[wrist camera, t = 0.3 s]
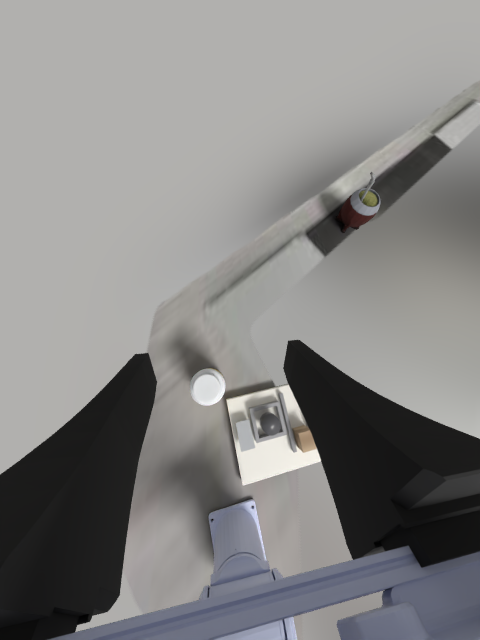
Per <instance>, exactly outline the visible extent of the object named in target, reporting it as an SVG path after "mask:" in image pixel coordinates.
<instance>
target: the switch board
mask: <svg viewBox="0 0 480 640" xmlns="http://www.w3.org/2000/svg"><path fill="white" fill-rule="evenodd" d="M226 400H227V405H228V411H229V416H230V421H231V427H232V432H233V437H234V442H235V448H236V453H237V458H238V464H239V469H240V474H241V479H242V484H243V485H247V484H250V483H253V482H256V481H259V480H263V479H266V478H269V477H272V476H275V475H279V474H282V473H285V472H288V471H291V470H295V469H298V468H301V467H304V466H308V465H311V464H314V463H317V462H320V461H321V459H320V456H319V453H318V450H317V449H315V450H311V451H308V452H305V453H303V452H302V451H301V450H300V449H299V448H298V447H297V445H296V441H295V437H294V433H293V429H292V428H296V427H299V426H303V425H305V426H307V427H308V425H307V422H306V420H305V418H304V416H303V414H302V412H301V410H300V408H299V406H298V404H297V402H296V399H295V397H294V395H293V393H292V391H291V389H290V387H289V384H285V385H281V386H277V387H273V388H269V389H265V390H261V391H257V392H252V393H248V394H244V395H240V396H236V397H232V398H228V399H226ZM266 412H271V413H273V414H274V415H275V416H277V417H278V419H279V420H280V423H281V428H280V431H279V432H278V433H277V434H276V435H273V436H270V435H267V434H266V433H265V432H264V431H263V429H262V428H261V426H260V418H261V416H262V415H263V414H264V413H266ZM247 419H249V422H250V426H251V430H252V435H253V439H254V444H255V448H254V449H250V450H247V451H243V452H241V448H240V443H239V438H238V433H237V428H236V423H235V422H239V421H243V420H247ZM308 428H309V427H308Z"/></svg>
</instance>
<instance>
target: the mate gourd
mask: <svg viewBox="0 0 480 640" xmlns="http://www.w3.org/2000/svg"><path fill="white" fill-rule="evenodd" d="M370 174H371V177H372V179H371V180H370V182H369V185H368V187H367V188H363V189H360V190H357V191H356V192H354V193H353V194H352V195H351V196H350V197H349V198H348V199H347V200H346V202H345V203H344V205H343V206H342V208H341V210H340V212H339V215H338V216H336V218H335V219H336V220H338V221H340V222H342V223H344V227H343V229H342V233H345V231H346V229H347V228H348V227H352V228H354V229H356V230H357V229H359V226H361V225H363V224H365V223H366V222H368V221H369V220H370V219H371V218H373V217H374V215H375V214H376V212H377V211H378V209H379V206H380V197H379V195H378V194H377V193H376V192H375V191H374V190H372V189H370V187H371V186H372V185H373V183H374V182H375V175H374V174H373V173H372V172H371V173H370Z"/></svg>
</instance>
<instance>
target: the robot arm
mask: <svg viewBox="0 0 480 640" xmlns="http://www.w3.org/2000/svg"><path fill="white" fill-rule="evenodd" d="M283 369H284V372H285V375H286V378H287V381H288V384H289V387H290V389H291V391H292V393H293V395H294V397H295V399H296V402H297V404H298V406H299V408H300V410H301V412H302V414H303V416H304V418H305V420H306V422H307V425H308V427H309V429H310V432H311V434H312V437H313V439H314V442H315V445H316V448H317V450H318V453H319V456H320V459H321V462H322V465H323V468H324V470H325V473H326V476H327V479H328V483H329V486H330V489H331V492H332V495H333V498H334V502H335V505H336V508H337V511H338V515H339V519H340V522H341V526H342V529H343V533H344V536H345V539H346V544H347V546H348V549H349V551H350V554H351V556H352V558H353V560H351V561H348V562H343V563H339V564H336V565H332V566H328V567H324V568H320V569H316V570H313V571H309V572H305V573H301V574H297V575H293V576H289V577H286V578H283V576H282V574H281V573H280V572H279V571H278V570H277V568H274V569H272V572H271V571H270V567H269V563H268V561H266V556H265V551H264V546H263V541H262V536H261V531H260V526H259V521H258V516H257V511H256V506H255V501H254V500H253V499H251V500H248V501H244V502H241V503H238V504H235V505H232V506H229V507H226V508H223V509H220V510H217V511H214V512H211V513H210V514H209V524H210V530H211V537H212V543H213V550H214V573H213V574H212V575H211V587H210V588H209V585H207V586H204V588H203V591H202V593H201V595H200V597H199V600H197V601H193V602H190V603H186V604H182V605H178V606H174V607H170V608H167V609H163V610H159V611H155V612H151V613H147V614H144V615H140V616H136V617H132V618H128V619H124V620H121V621H117V622H113V623H110V624H105V625H101V626H98V627H94V628H90V629H86V630H82V631H78V632H75V631H76V627H77V625H79V624H83V623H87V622H90V620H91V618H92V616H93V615H97V614H101V613H105V612H108V611H109V610H110V608H111V607H112V606H113V604H114V603H115V602H116V600H117V598H118V597H119V595H120V587H121V578H122V569H123V561H124V552H125V544H126V537H127V530H128V523H129V516H130V509H131V502H132V496H133V490H134V484H135V478H136V472H137V467H138V461H139V457H140V452H141V448H142V444H143V441H144V437H145V433H146V430H147V426H148V423H149V419H150V415H151V411H152V408H153V404H154V399H155V392H156V385H157V381H156V377H155V374H154V371H153V367H152V364H151V361H150V357H149V354H148V353H144V354H135V355H134V356H133V357H132V358H131V359H130V360H129V361H128V363H127V364H126V365H125V366H124V367H123V368H122V369H121V370H120V371H119V372H118V373H117V375H116V376H115V377H114V378H113V379H112V380H111V381H110V382H109V383H108V384H107V385H106V386H105V387H104V388H103V389H102V391H100V392H99V393H98V394H97V395H96V396H95V398H93V399H92V400H91V401H90V402H89V403H88V404H87V405H86V406H85V407H84V408H83V409H82V410H81V411H80V412H79V413H77V414H76V415H75V416H74V417H73V418H72V419H71V420H70V421H68V422H67V423H66V424H65V425H64V426H63V427H62V428H60V429H59V430H58V431H57V432H55V433H54V434H53V435H52V436H51V437H49V438H48V439H47V440H46V441H44V442H43V443H42V444H41V445H39V446H38V447H37V448H35V449H34V450H33V451H31V452H30V453H29V454H27V455H26V456H25V457H24V458H22V459H21V460H20V461H18V462H17V463H16V464H14V465H13V466H12V467H10V468H9V469H7V470H6V471H5V472H3V473H2V474H1V475H0V640H297V636H296V630H295V625H294V619H293V617H294V616H297V615H300V614H304V613H307V612H311V611H314V610H318V609H321V608H325V607H328V606H331V605H334V604H338V603H342V602H345V601H349V600H352V599H355V598H359V597H362V596H366V595H369V594H373V593H376V592H380V591H383V590H385V591H383V594H382V600H383V605H382V607H381V608H377V609H373V610H370V611H366V612H362V613H359V614H356V615H353V616H350V617H347V618H344V619H341V620H338V621H337V628H338V631H339V634H340V637H341V640H480V439H479V438H476V437H474V436H471V435H468V434H466V433H463V432H461V431H458V430H455V429H453V428H450V427H448V426H445V425H443V424H440V423H438V422H436V421H433V420H431V419H429V418H426V417H424V416H422V415H420V414H417V413H415V412H413V411H411V410H409V409H406V408H405V407H403V406H401V405H399V404H396V403H395V402H393V401H391V400H389V399H387V398H385V397H383V396H381V395H379V394H377V393H376V392H374V391H372V390H370V389H369V388H367V387H365V386H364V385H362V384H360V383H358V382H357V381H355V380H354V379H352V378H351V377H349V376H348V375H346V374H345V373H343V372H342V371H340V370H339V369H337V368H336V367H334V366H333V365H332V364H330V363H329V362H327V361H326V360H325V359H324V358H322V357H321V356H320V355H318V354H317V353H315V352H314V351H313V350H311V349H310V348H309V347H308V346H307V345H305V344H304V343H303V342H301V341H300V340H292V341H288V345H287V351H286V356H285V362H284V368H283ZM252 505H253V506H254V507H253V508H252V507H251V506H252ZM211 519H214V520H213V521H211Z"/></svg>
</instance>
